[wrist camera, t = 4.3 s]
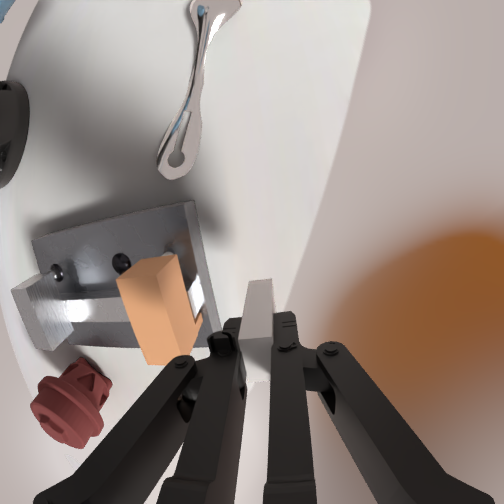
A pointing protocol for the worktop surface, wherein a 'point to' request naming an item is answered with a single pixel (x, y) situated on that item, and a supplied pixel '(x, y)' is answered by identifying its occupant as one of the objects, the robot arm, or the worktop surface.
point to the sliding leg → (159, 308)
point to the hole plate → (127, 264)
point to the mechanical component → (72, 404)
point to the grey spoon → (194, 86)
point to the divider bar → (70, 308)
